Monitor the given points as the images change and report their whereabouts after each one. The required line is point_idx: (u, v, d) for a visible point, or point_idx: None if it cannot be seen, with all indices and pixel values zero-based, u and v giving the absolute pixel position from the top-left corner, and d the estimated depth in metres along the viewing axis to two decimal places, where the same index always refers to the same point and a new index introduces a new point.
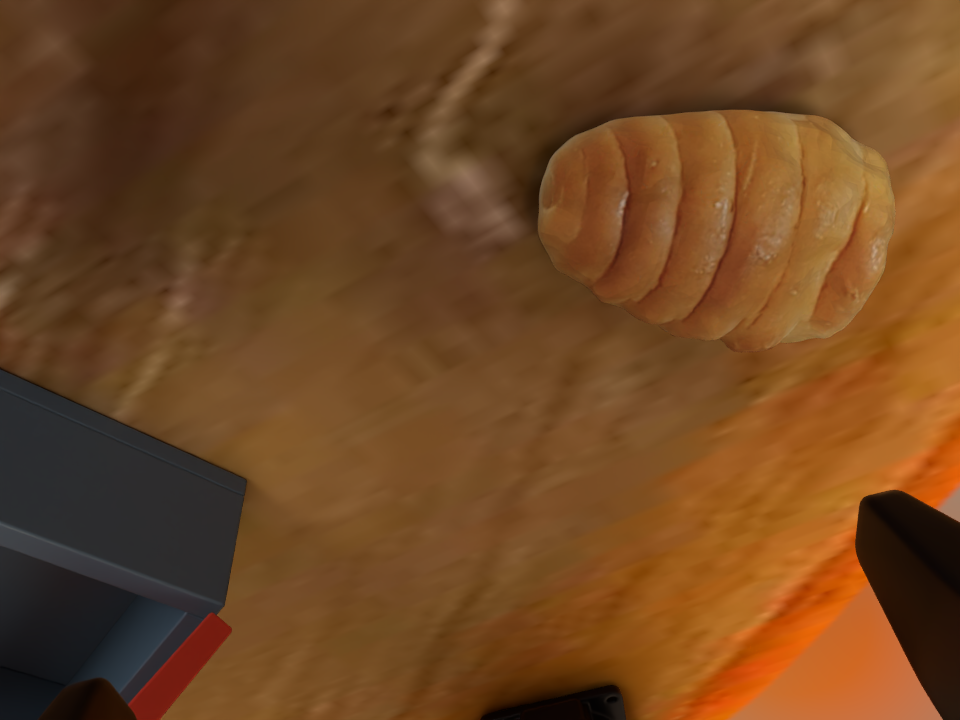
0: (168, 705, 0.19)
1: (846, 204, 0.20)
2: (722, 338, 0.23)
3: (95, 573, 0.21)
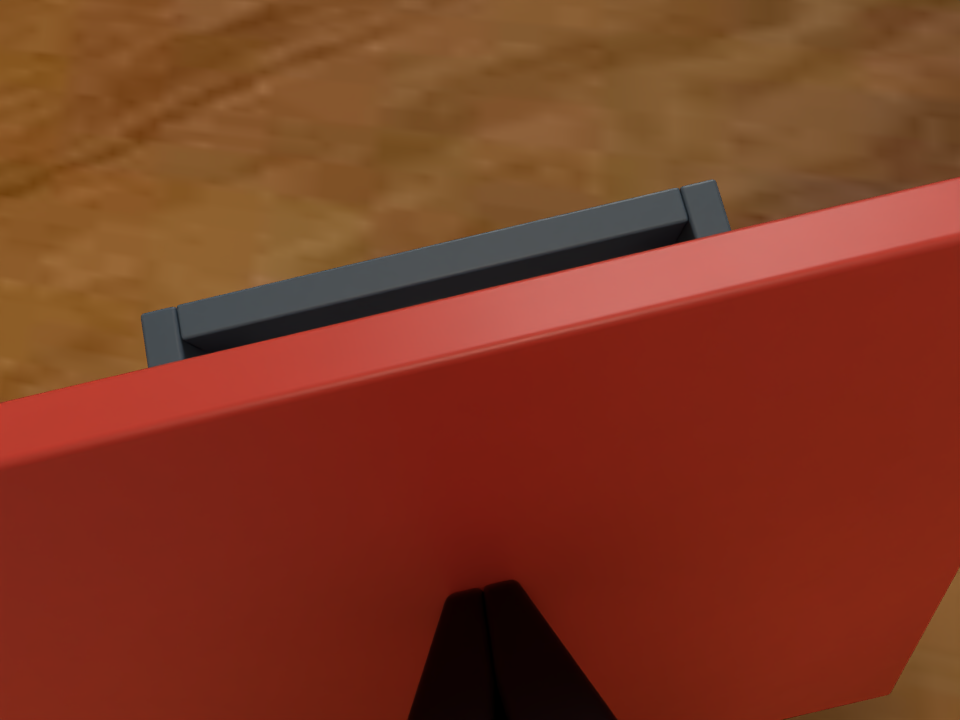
0: (931, 615, 0.12)
1: None
2: None
3: None
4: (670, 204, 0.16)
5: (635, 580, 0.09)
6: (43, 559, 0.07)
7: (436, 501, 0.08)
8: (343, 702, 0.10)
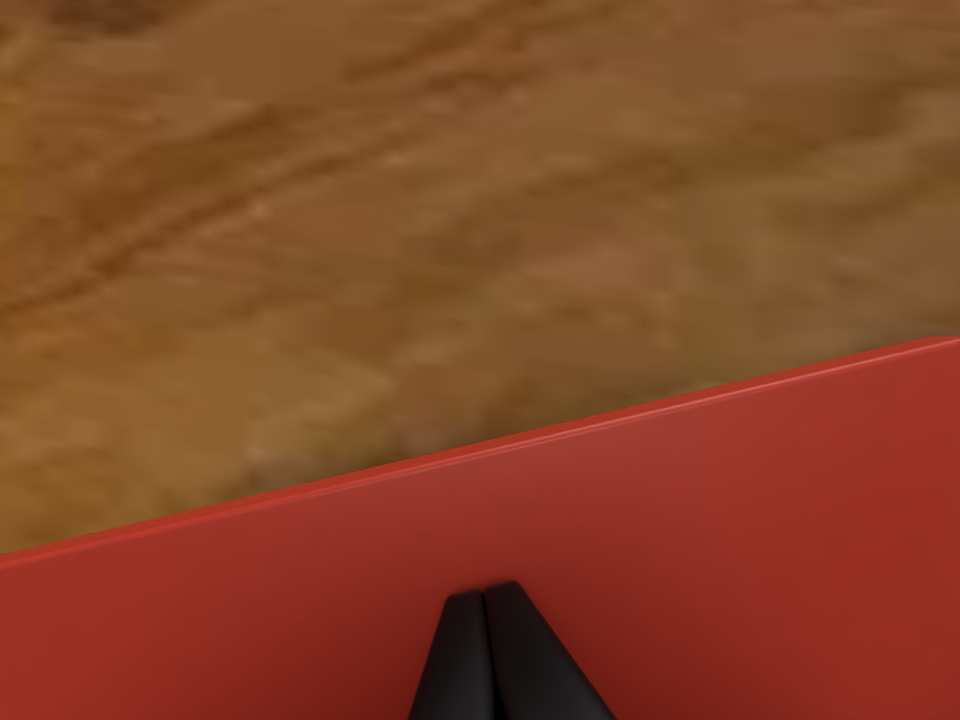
0: None
1: None
2: None
3: None
4: None
5: None
6: (171, 638, 0.09)
7: None
8: None
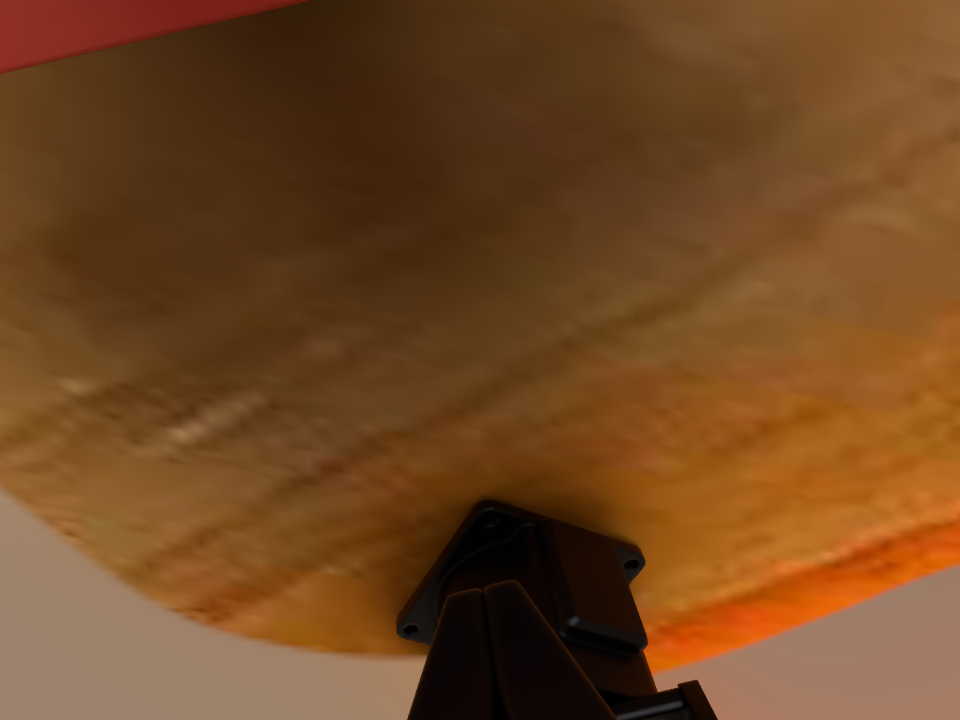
0: None
1: None
2: None
3: None
4: None
5: None
6: None
7: None
8: None
